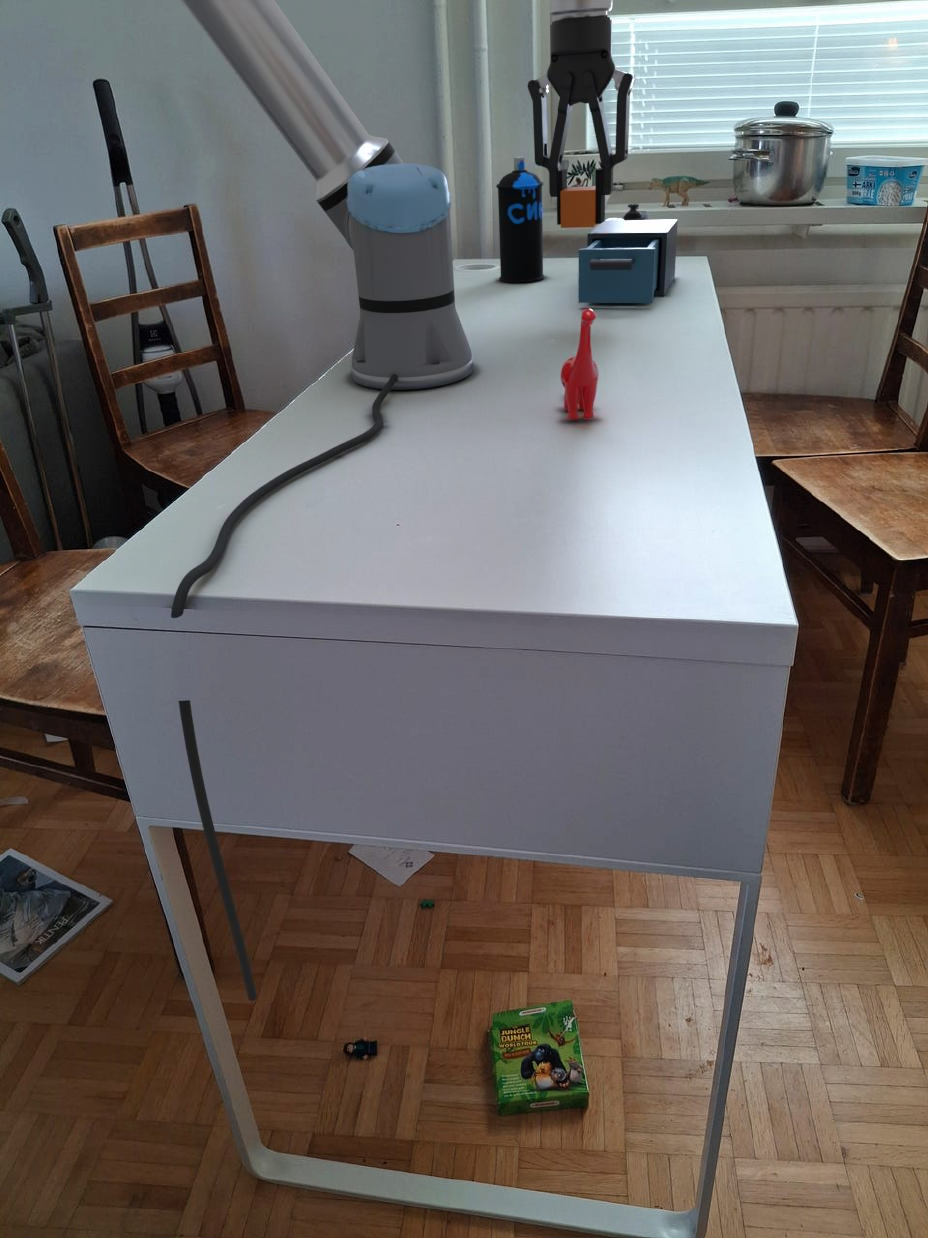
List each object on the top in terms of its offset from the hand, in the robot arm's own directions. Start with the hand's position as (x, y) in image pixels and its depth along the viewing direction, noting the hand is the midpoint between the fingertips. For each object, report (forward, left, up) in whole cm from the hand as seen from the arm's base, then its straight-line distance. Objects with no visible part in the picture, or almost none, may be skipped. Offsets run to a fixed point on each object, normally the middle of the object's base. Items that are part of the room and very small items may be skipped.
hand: (581, 222), depth 125 cm
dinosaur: (-38, -7, -15) cm, 41 cm away
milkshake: (+46, +4, -15) cm, 48 cm away
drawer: (+19, -2, -13) cm, 23 cm away
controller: (+62, +2, -15) cm, 63 cm away
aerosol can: (+39, +19, -15) cm, 46 cm away
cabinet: (+32, -2, -14) cm, 35 cm away
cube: (0, 0, 0) cm, 0 cm away
